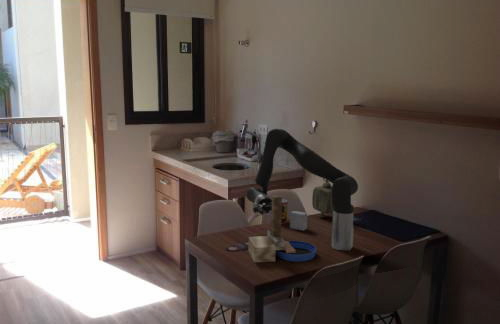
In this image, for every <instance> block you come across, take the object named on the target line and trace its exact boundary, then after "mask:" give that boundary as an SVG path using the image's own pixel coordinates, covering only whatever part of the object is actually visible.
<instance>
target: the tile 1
mask: <svg viewBox="0 0 500 324" xmlns="http://www.w3.org/2000/svg"><path fill="white" fill-rule="evenodd" d="M295 249H296V248H293V247H290V248H287V249H286V250H284V252H286V253H296V250H295Z"/></svg>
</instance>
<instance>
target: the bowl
mask: <svg viewBox="0 0 500 324" xmlns="http://www.w3.org/2000/svg"><path fill="white" fill-rule="evenodd" d="M287 241H288V242H289V243H290V245H291V246H292V247H293V248H294V249H295V250H296V253H286V252H285V251H284V252H282V250H276V253H275V255H276V256H277V257H278V258H280V259H282V260H285V261H290V262H305V261H307V262H308V261H310V260H312V259H314V258H315V257H316V256H315V255H316V253H317V247H316V246H315V245H314V244H312V243H309V242H306V241H301V240H287Z"/></svg>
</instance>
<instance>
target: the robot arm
mask: <svg viewBox="0 0 500 324" xmlns="http://www.w3.org/2000/svg"><path fill="white" fill-rule="evenodd" d="M264 142H265V143H264V148H263V153H262V158H261V162H260V166H259V168H258V171H257V173H256V177H255V179H254V182H255V184H257V185H258V186H260V187H261V188H259V187H254V186H252V187H249V188H248V189H247V190H246V198H247V199H246V200H248V201H249V202H251V203H253V204H252V211H253V213H254V214H256V213H258V214H260V215H261V216H263V215H264V214H268V213H272V198H271V197H270V196H268V188H269V183H270V180H271V178H272V176H273V171H274V159H275V158H274V157H275V154H276V152H277V149H278V148H280V149H282V150H284V151H286V152H288V153H289V154H290V155H291V156H292V157H293V158H294V160H295V161H296V162H297V164H298V165H299V166H301V167H302V168H303V169H304V170H305V171H306V172H309V173H310V174H312V175H314V176H317V177H319V178H322V179H323V178H324V180H328V181H330V182H329V183H330V184H331V183H332V184H331V186H332V205H333V215H332V227H331V228H332V229H331V248H332V249H334V250H337V251H351V249H352V248H353V247H354V233H355V232H354V229H355V228H354V210H355V207H354V205H353V204H352V196H354V194H356V193H357V191H358V190H359V185H358V182H357V180H356V179H355V178H354V177H353V176H351V175H349V174H347V173H345V172H344V171H342V170H340V169H339V168H337V167H336V166H334V165H333V164H331V163H330V162H329V161H327V160H326V159H324V157H322V156H321V155H319V154H318V153H316V152H315V151H314V150H312V149H310V148H309V147H308V146H305V144H303V143H301V142H300V141H298V140H297V139H296V138H294V137H293V136H292V135H291V134H290V133H289V132H288V131H287V130H285V129H283V128H282V129H281V128H271V129H270V130H269V131H267V134H266V137H265V141H264ZM283 212H285V206H284V205H282V213H283ZM282 213H281V214H282Z"/></svg>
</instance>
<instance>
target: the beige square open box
mask: <svg viewBox="0 0 500 324" xmlns="http://www.w3.org/2000/svg"><path fill="white" fill-rule="evenodd" d="M247 246H248V254H249V255H250V257H251V259H252V260H253V262H254V263H268V262H270V263H271V262H276V250H281V251H285V250H286V249H287V245H286V244H285V247H275V246H274V244H273V243H272V241H271V240H270V239H269V237H268V236H267V235H263V236H262V235H261V236H260V235H259V236H248V245H247Z"/></svg>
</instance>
